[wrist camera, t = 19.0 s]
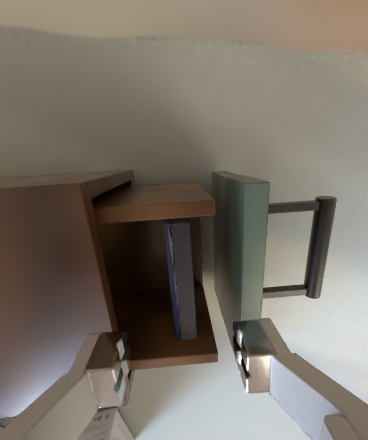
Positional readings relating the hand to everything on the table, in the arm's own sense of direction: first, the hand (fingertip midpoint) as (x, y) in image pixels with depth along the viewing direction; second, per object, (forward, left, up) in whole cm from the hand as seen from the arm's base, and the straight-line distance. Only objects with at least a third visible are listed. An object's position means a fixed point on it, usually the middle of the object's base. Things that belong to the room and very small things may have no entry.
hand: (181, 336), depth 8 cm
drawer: (-1, 0, -11) cm, 11 cm away
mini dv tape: (0, 0, -10) cm, 10 cm away
